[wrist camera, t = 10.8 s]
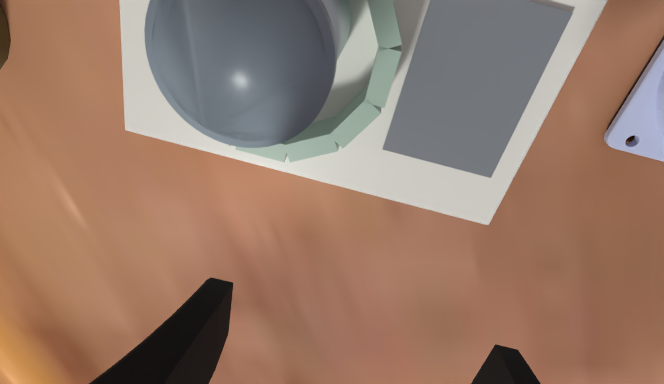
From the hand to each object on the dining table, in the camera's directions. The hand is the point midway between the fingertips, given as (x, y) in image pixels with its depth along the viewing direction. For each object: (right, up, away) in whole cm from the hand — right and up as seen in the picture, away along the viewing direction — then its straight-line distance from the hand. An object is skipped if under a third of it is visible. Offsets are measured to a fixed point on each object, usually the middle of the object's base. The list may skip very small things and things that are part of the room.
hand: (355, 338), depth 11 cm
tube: (-2, +11, +5) cm, 12 cm away
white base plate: (0, +10, +6) cm, 12 cm away
